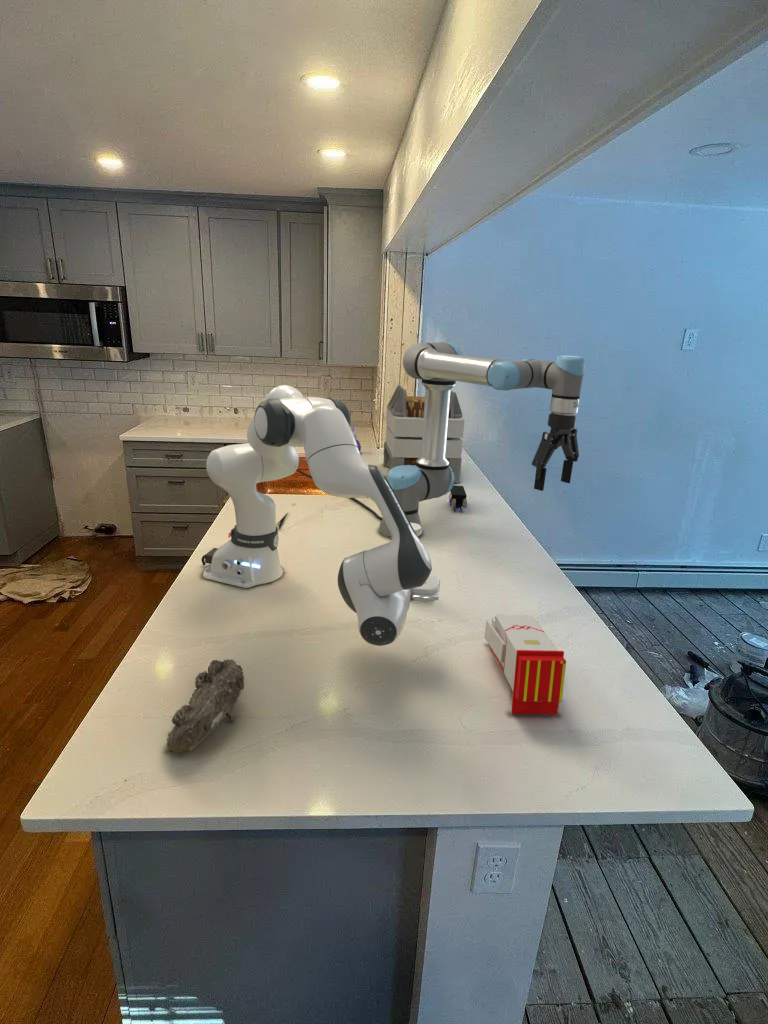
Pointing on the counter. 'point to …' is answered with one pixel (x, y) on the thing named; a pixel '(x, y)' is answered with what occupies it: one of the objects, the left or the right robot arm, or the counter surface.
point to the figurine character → (458, 497)
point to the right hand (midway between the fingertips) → (552, 485)
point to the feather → (281, 520)
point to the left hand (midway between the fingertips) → (398, 571)
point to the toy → (527, 663)
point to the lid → (416, 528)
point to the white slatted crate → (419, 431)
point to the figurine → (356, 437)
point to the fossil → (206, 705)
